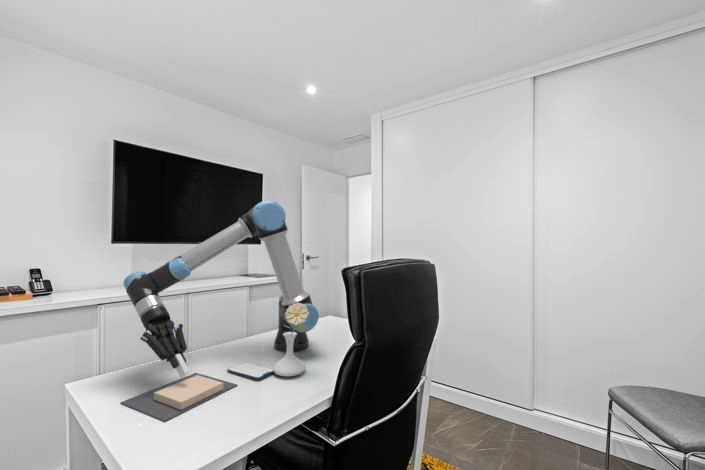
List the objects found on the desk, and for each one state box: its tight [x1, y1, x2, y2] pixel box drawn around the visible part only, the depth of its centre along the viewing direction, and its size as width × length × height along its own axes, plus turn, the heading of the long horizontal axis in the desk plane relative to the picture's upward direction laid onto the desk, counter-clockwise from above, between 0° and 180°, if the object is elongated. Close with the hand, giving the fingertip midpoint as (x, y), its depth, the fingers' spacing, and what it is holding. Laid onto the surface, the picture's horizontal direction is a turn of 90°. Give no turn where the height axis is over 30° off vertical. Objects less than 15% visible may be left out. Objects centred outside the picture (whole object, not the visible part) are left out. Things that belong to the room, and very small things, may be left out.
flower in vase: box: [272, 303, 309, 377], centre depth 114 cm, size 13×11×25 cm
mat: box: [120, 372, 238, 423], centre depth 97 cm, size 24×20×1 cm
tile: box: [154, 375, 223, 410], centre depth 96 cm, size 14×2×12 cm
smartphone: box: [226, 362, 276, 382], centre depth 114 cm, size 9×2×16 cm
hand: (185, 374), depth 97 cm, fingers closed
